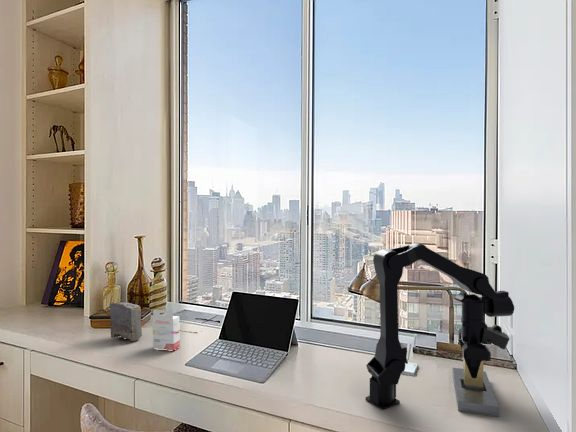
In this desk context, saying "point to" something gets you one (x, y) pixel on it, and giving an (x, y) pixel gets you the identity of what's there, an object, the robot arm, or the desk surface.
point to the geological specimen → (125, 320)
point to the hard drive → (410, 369)
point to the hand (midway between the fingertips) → (472, 374)
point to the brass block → (468, 379)
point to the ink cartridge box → (166, 330)
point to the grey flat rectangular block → (474, 396)
